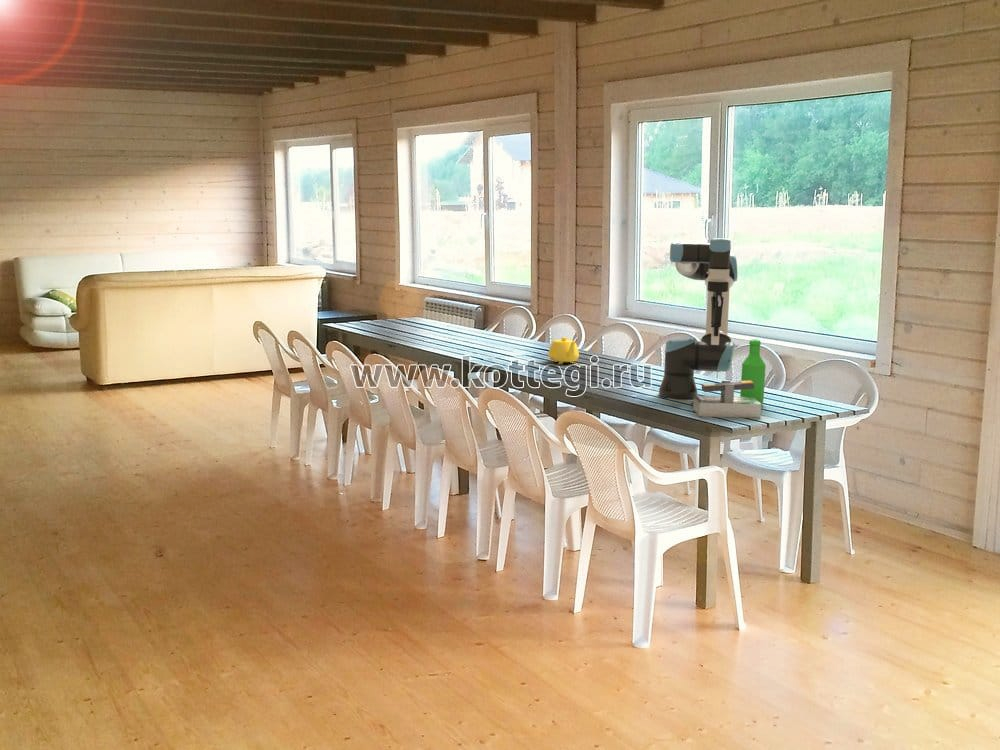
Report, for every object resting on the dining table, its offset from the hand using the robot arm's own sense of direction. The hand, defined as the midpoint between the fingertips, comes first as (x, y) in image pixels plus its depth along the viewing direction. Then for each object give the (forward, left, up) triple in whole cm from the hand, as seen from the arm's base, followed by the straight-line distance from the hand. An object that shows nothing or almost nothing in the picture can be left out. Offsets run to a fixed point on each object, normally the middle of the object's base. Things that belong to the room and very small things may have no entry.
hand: (714, 344), depth 375 cm
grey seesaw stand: (+8, +4, -24) cm, 26 cm away
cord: (-5, +1, -24) cm, 25 cm away
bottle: (-10, +17, -25) cm, 32 cm away
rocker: (+8, +4, -14) cm, 17 cm away
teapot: (-103, -52, -25) cm, 118 cm away
